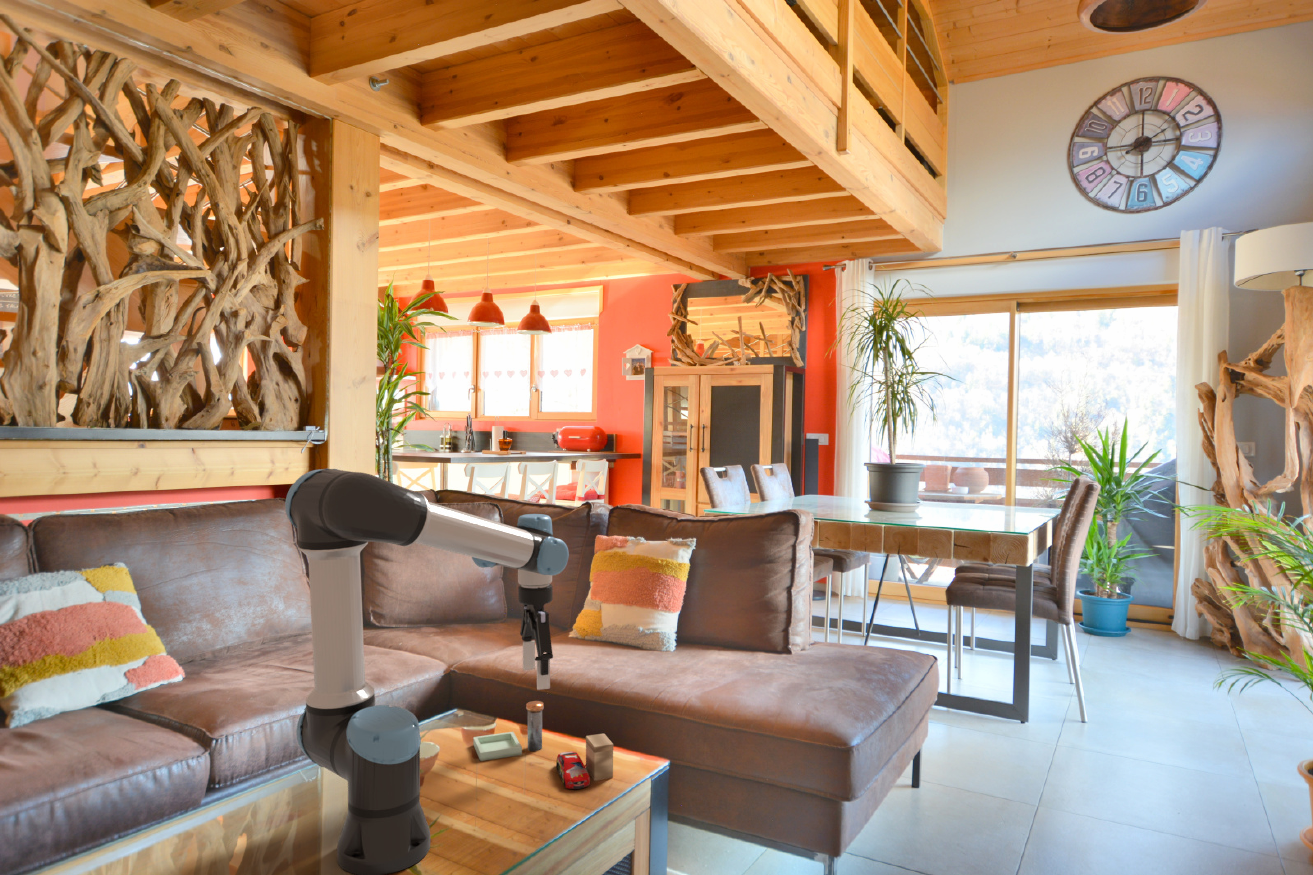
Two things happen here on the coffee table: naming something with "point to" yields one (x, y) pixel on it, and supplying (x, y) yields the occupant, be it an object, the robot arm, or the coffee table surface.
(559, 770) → the race car
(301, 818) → the coffee table surface
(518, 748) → the tray
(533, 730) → the pin
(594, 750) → the brown lidded box
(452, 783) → the coffee table surface
